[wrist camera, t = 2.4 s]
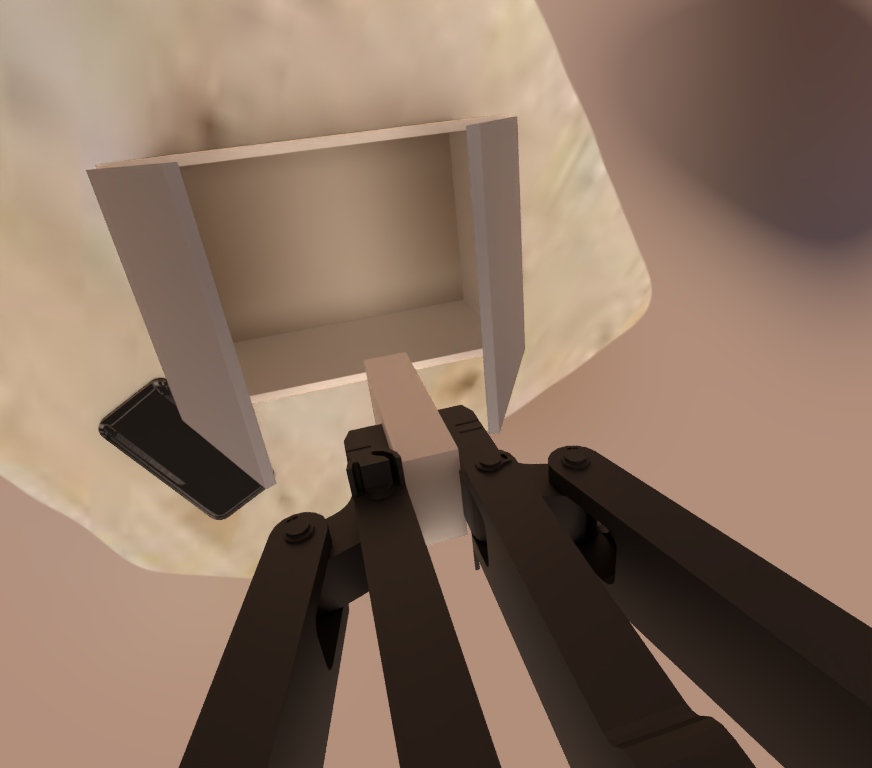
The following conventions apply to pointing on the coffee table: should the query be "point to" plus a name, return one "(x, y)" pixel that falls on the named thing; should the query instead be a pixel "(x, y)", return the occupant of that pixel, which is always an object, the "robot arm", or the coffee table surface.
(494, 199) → the flap
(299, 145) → the carton
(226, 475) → the phone
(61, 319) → the coffee table surface
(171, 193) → the flap
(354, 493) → the robot arm
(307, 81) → the coffee table surface
